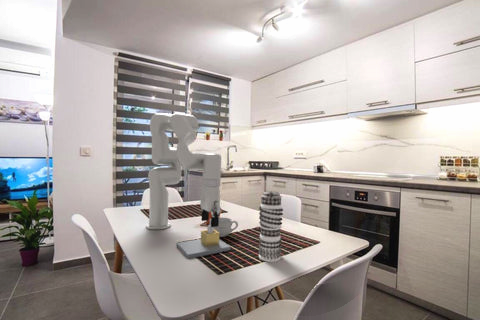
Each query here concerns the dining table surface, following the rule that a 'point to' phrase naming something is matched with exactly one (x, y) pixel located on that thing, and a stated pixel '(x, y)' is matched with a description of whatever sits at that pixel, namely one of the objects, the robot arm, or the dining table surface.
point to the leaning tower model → (270, 226)
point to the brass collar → (209, 238)
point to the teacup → (224, 226)
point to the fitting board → (201, 247)
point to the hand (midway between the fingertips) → (209, 223)
